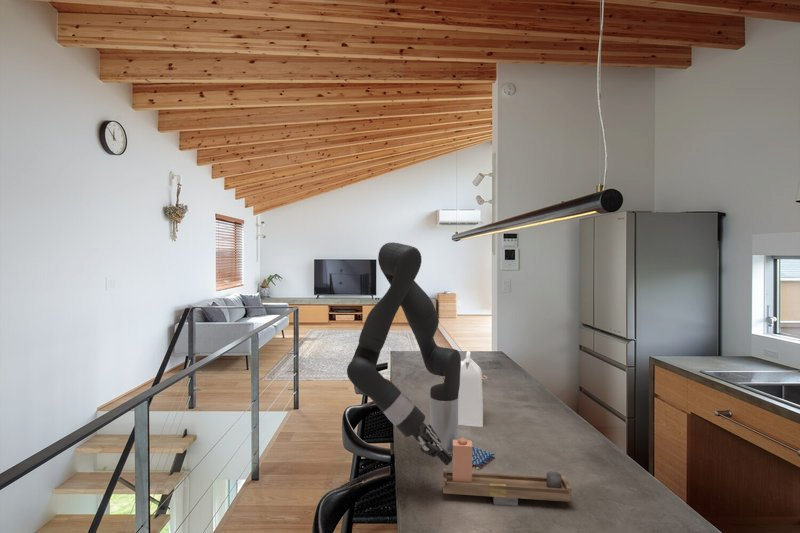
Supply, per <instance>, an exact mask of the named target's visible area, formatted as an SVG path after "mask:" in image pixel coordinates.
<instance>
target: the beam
mask: <svg viewBox="0 0 800 533" xmlns="http://www.w3.org/2000/svg"><path fill="white" fill-rule="evenodd" d="M452 475H453V470H452V471H451V470H448V469H447V468H443V469H442V493H443V494H446V495H447V494H448V495H449V494H450V495H461V496H462V495H466V496H479V497H492V501H493V505H500V506H514V507H519V499H523V500H524V499H525V500H538V501H539V500H540V501H541V500H542V501H552V502H553V501H554V502H555V501H556V502H568V503H571V502H572V487H571V485H570V483H569V481H568V480H567V478H566V476H565V475H562V474H560V473H559V472H557V471H547V473H546V476H536V475H535V476H534V475H532V476H531V475H520V474H519V475H517V474H515V475H514V474H499V473H485V472H472V483H468V482H453V477H452Z"/></svg>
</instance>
